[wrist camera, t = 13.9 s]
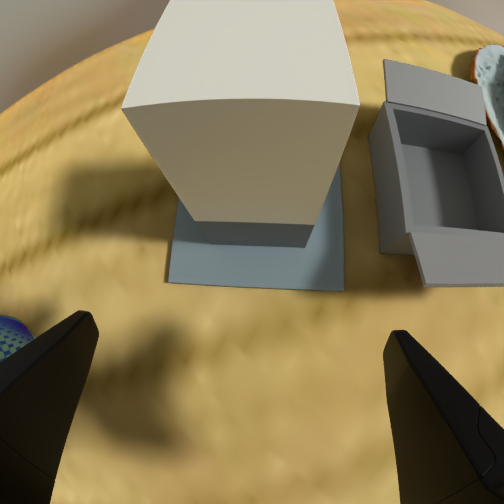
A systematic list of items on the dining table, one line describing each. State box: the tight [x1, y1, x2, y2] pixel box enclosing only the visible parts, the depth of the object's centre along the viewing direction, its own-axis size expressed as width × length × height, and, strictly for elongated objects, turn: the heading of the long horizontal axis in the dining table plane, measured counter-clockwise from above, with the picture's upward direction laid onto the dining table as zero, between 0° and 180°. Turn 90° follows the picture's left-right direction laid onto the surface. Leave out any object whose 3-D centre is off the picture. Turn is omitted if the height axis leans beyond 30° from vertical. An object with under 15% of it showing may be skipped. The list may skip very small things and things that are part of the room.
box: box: [121, 0, 360, 248], centre depth 12 cm, size 5×5×12 cm
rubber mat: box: [168, 164, 344, 291], centre depth 18 cm, size 10×10×1 cm
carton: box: [368, 59, 504, 287], centre depth 16 cm, size 14×8×5 cm, turn 177°
